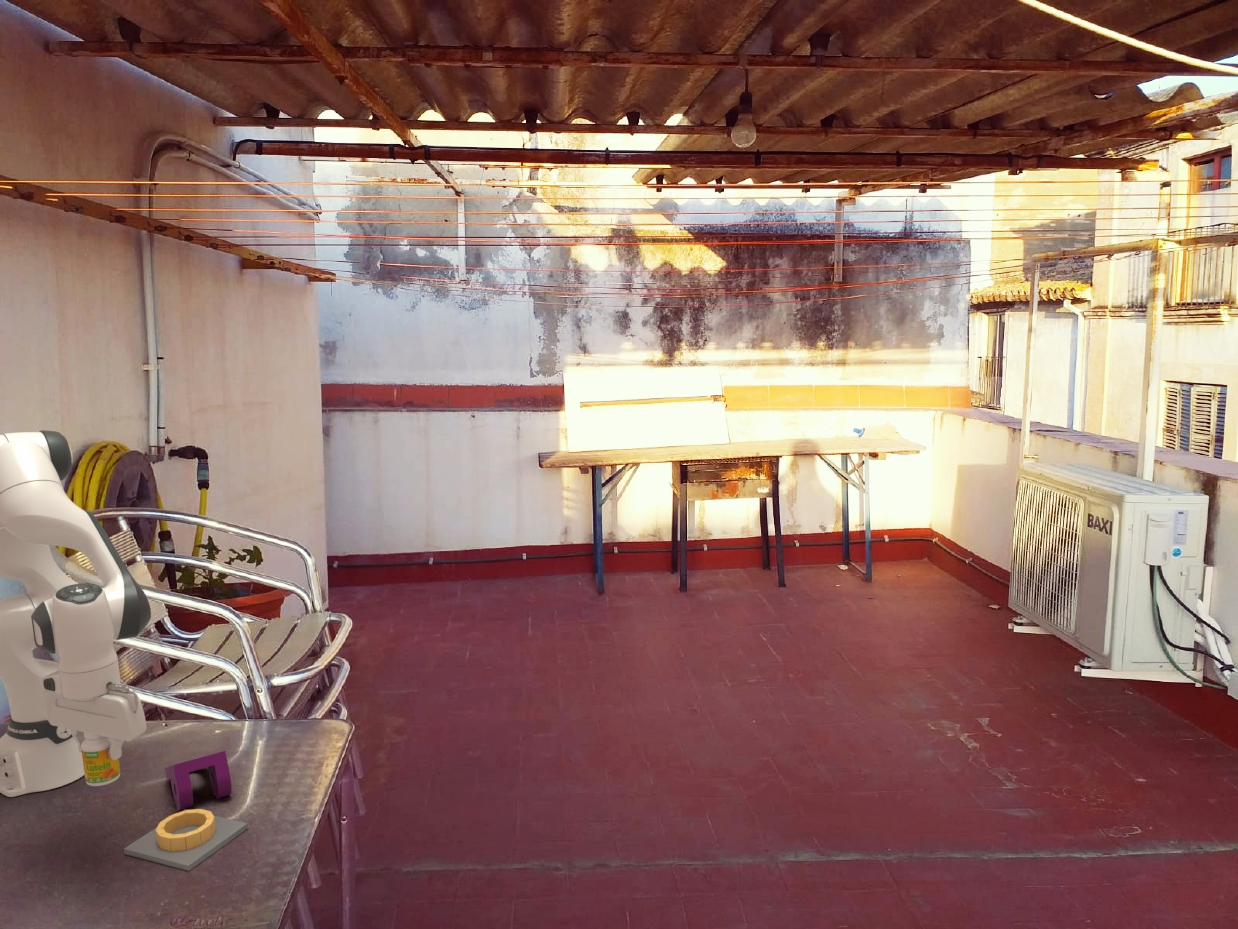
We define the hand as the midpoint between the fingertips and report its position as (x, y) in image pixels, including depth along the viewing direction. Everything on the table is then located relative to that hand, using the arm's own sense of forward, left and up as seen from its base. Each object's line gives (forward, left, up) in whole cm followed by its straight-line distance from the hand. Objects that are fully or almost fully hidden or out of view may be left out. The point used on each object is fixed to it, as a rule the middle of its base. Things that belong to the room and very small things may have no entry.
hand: (100, 755), depth 166 cm
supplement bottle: (0, 0, -5) cm, 5 cm away
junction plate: (+9, +8, -19) cm, 23 cm away
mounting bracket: (-4, +23, -20) cm, 31 cm away
